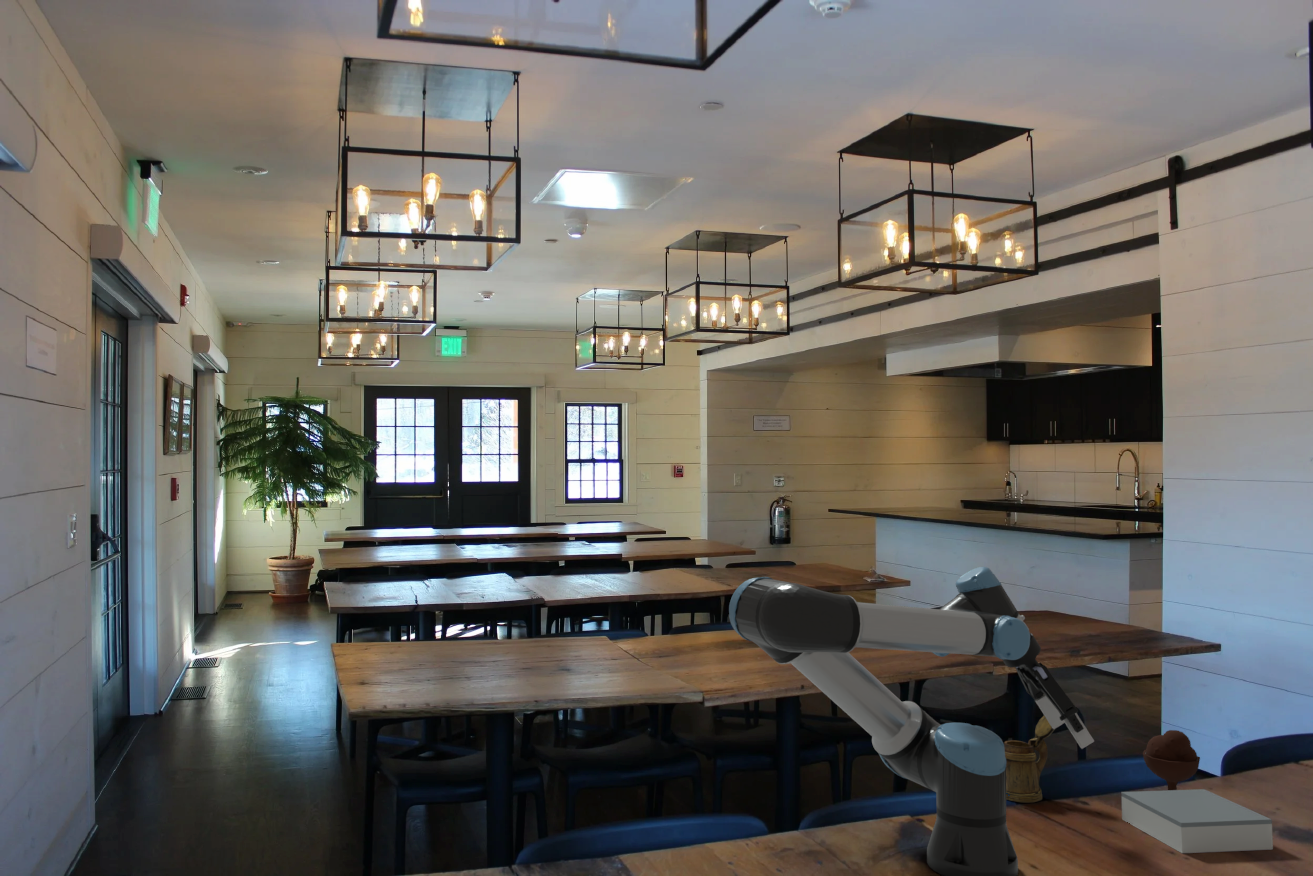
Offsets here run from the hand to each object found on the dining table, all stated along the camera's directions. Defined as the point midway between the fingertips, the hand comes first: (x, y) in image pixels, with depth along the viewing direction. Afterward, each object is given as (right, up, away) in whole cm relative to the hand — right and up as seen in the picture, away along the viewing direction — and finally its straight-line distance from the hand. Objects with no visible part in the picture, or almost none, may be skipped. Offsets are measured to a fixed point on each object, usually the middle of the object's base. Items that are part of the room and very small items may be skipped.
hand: (1072, 734), depth 183 cm
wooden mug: (0, -20, +20) cm, 28 cm away
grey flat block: (+22, -18, -2) cm, 29 cm away
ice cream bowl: (+29, -20, +18) cm, 39 cm away
